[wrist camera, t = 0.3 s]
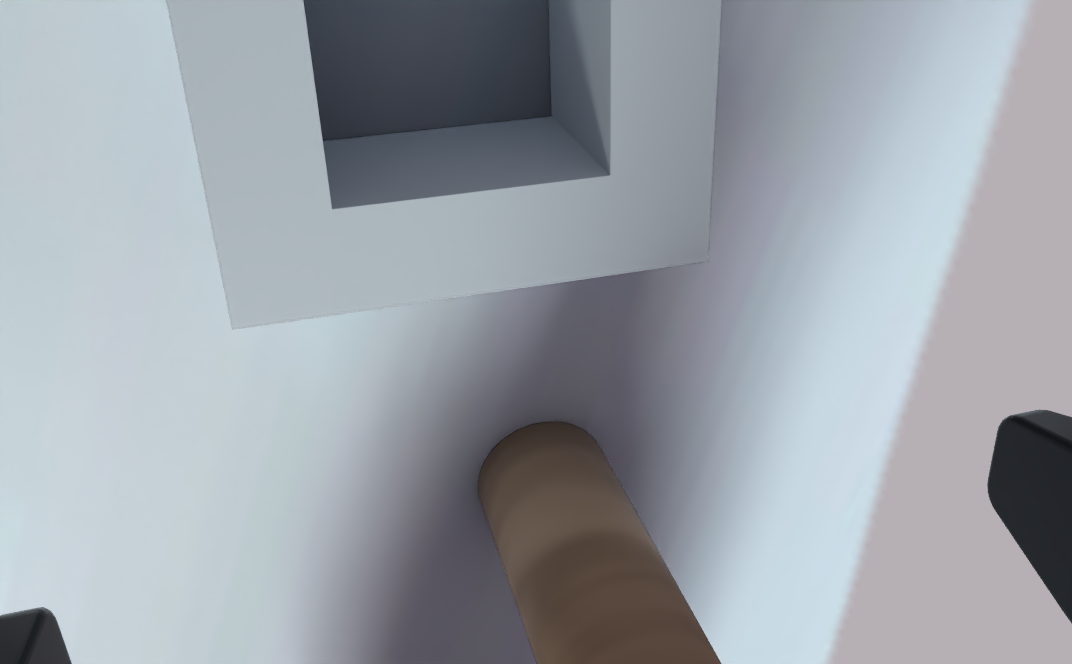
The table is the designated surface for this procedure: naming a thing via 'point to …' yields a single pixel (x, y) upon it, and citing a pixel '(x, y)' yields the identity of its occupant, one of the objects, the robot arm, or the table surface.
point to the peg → (582, 556)
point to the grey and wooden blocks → (450, 165)
